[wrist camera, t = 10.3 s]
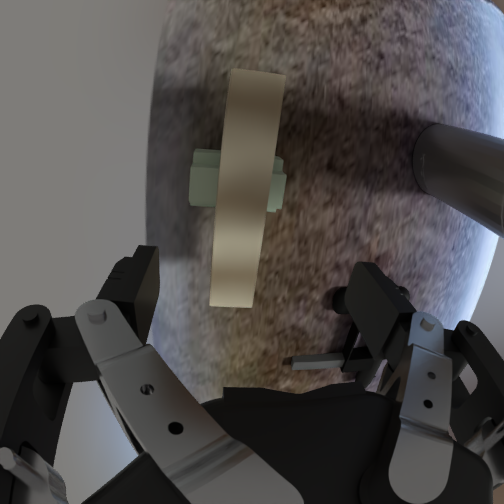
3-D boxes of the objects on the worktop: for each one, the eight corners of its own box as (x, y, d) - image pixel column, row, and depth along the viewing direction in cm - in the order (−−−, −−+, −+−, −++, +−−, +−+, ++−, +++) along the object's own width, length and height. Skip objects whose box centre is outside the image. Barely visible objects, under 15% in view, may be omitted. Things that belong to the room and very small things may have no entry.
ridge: (195, 148, 26) (191, 155, 22) (278, 156, 28) (288, 164, 24) (192, 197, 29) (188, 212, 25) (271, 204, 30) (279, 219, 26)
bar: (229, 76, 20) (232, 68, 16) (273, 82, 20) (285, 75, 16) (210, 277, 28) (209, 305, 24) (246, 279, 28) (251, 307, 24)
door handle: (286, 396, 42) (376, 387, 43) (311, 294, 33) (422, 293, 34) (284, 380, 45) (370, 374, 46) (305, 279, 36) (411, 280, 37)
